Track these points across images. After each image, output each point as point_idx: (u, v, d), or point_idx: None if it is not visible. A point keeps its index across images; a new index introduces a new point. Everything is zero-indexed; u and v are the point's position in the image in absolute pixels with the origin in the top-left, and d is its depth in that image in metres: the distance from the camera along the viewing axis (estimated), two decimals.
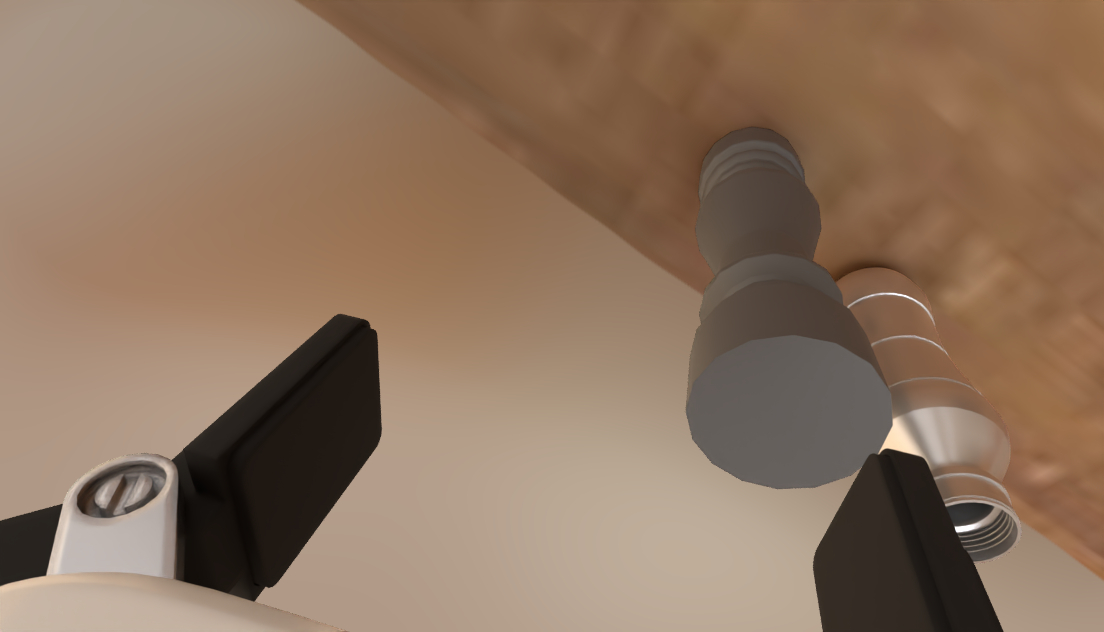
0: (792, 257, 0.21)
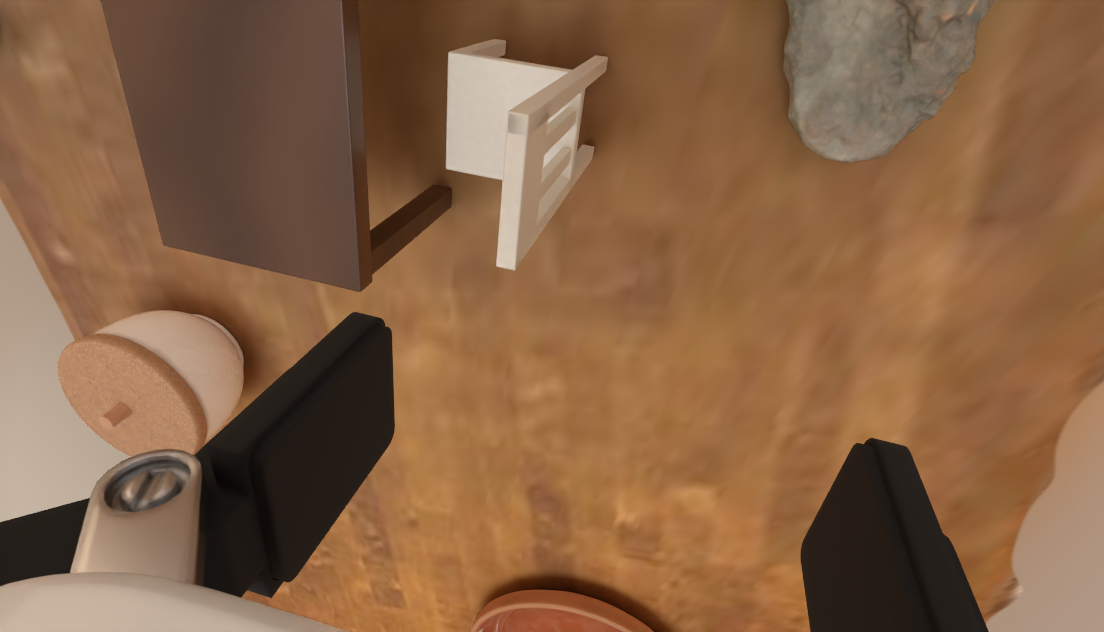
0: None
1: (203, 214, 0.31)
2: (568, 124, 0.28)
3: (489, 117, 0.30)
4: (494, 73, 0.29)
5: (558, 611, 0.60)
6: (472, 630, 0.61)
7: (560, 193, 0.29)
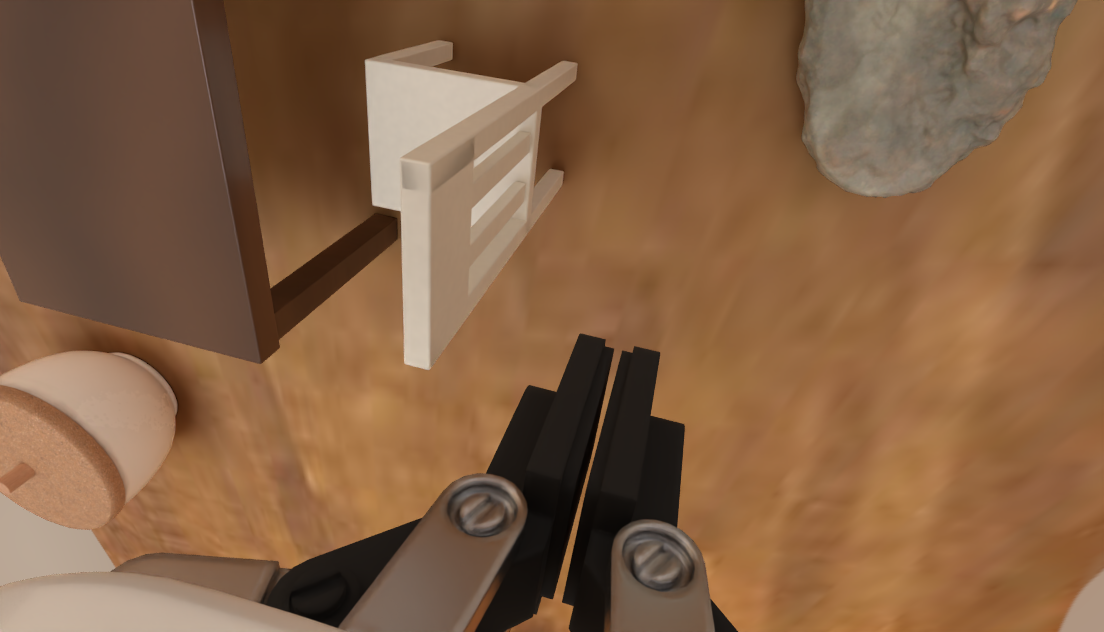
0: None
1: (60, 266, 0.24)
2: (517, 155, 0.21)
3: (421, 142, 0.24)
4: (424, 86, 0.22)
5: None
6: None
7: (510, 242, 0.22)
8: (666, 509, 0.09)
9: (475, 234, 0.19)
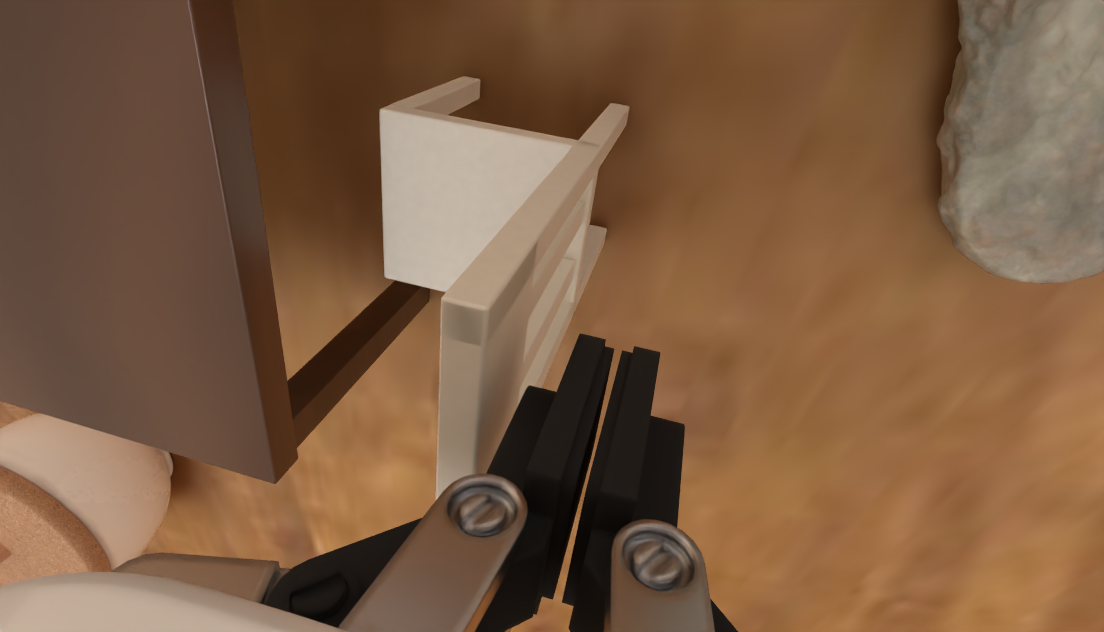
0: None
1: (29, 361, 0.20)
2: (571, 234, 0.17)
3: (447, 208, 0.19)
4: (453, 143, 0.18)
5: None
6: None
7: (557, 338, 0.18)
8: (666, 509, 0.09)
9: None
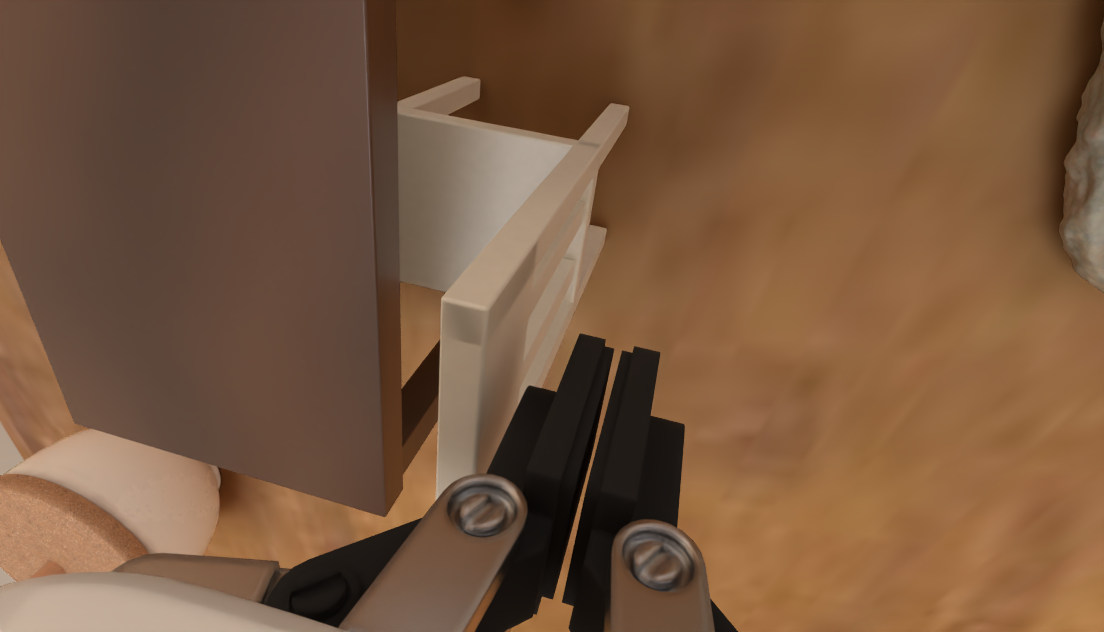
0: None
1: (132, 390, 0.19)
2: (571, 234, 0.17)
3: (447, 208, 0.19)
4: (453, 143, 0.18)
5: None
6: None
7: (557, 338, 0.18)
8: (666, 509, 0.09)
9: None
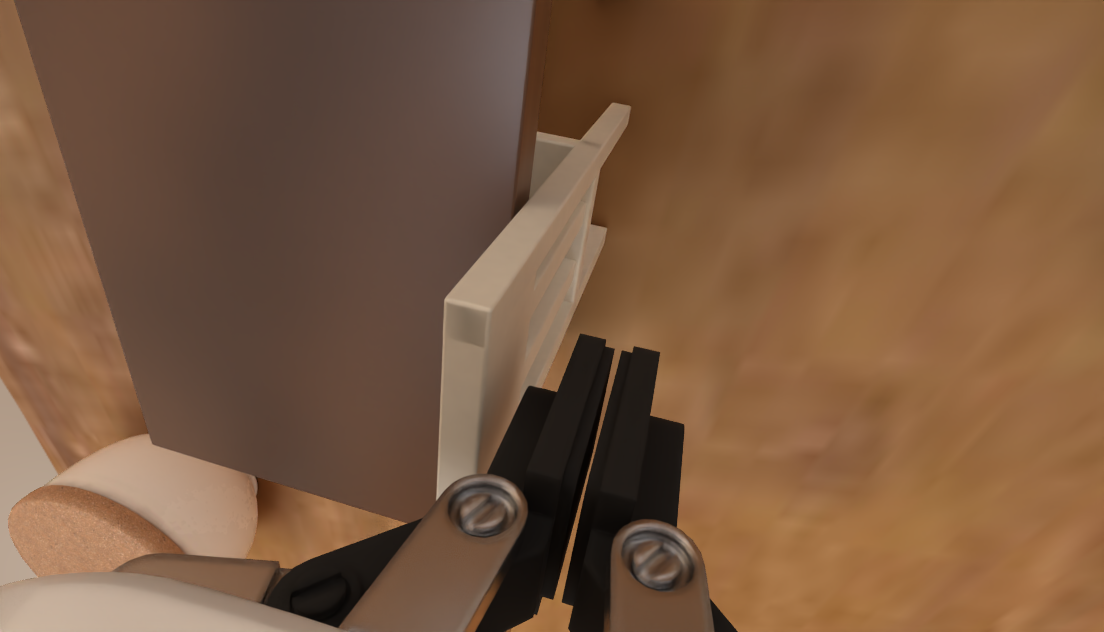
0: None
1: (219, 414, 0.19)
2: (572, 235, 0.17)
3: None
4: None
5: None
6: None
7: (557, 338, 0.18)
8: (666, 509, 0.09)
9: None
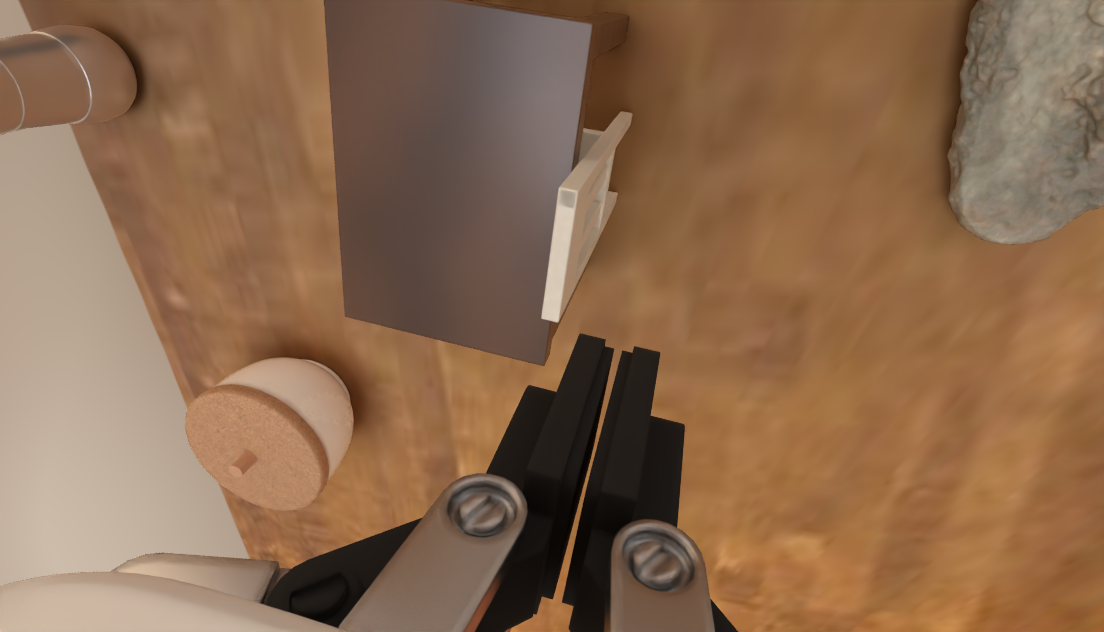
0: None
1: (394, 290, 0.32)
2: (601, 183, 0.30)
3: None
4: None
5: None
6: None
7: (592, 244, 0.32)
8: (666, 509, 0.09)
9: None
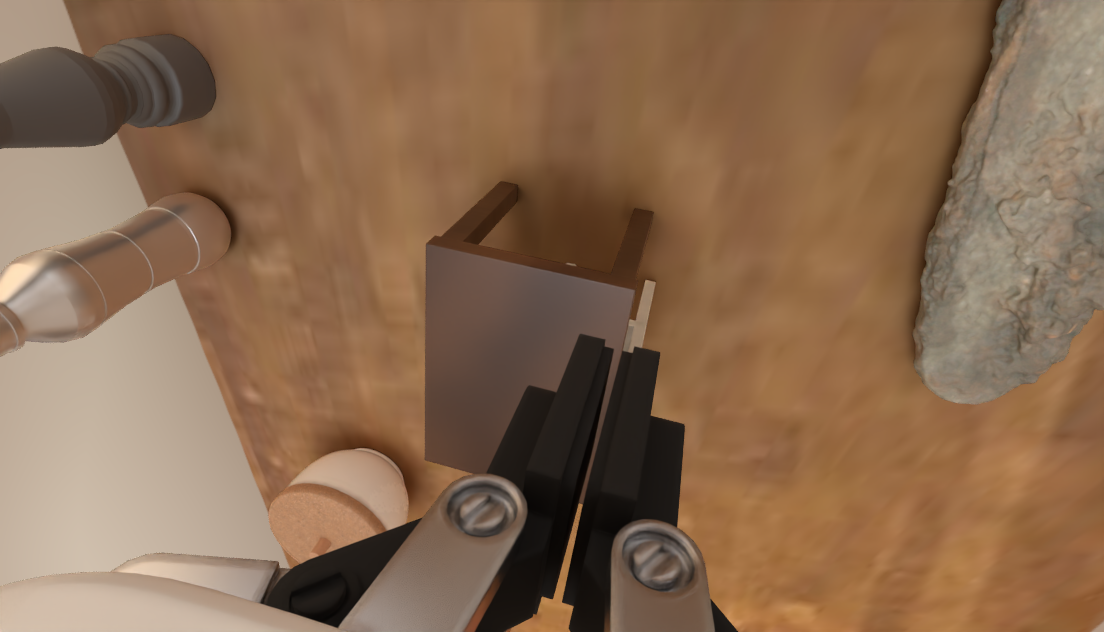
0: None
1: (467, 445, 0.40)
2: None
3: None
4: None
5: None
6: None
7: None
8: (666, 509, 0.09)
9: None
